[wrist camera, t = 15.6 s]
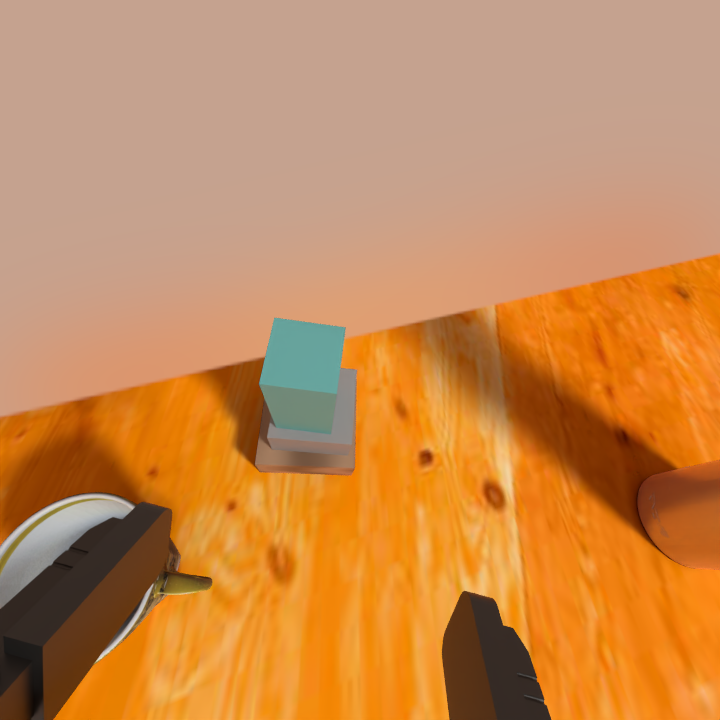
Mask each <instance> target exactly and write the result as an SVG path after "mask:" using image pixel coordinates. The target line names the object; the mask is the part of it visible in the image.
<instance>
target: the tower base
mask: <svg viewBox="0 0 720 720" xmlns="http://www.w3.org/2000/svg"><path fill="white" fill-rule="evenodd" d="M270 418H271V413H270V411H269V408H268V406H267V403H266V401H265V398H264V405H263V412H262V419H261V426H260V432H259V439H258V446H257V453H256V460H255V465H256V467H257V468H258V470H259V471H260V472H271V473H299V474H328V475H352V473H353V471H354V468H355V429H356V389H355V404H354V419H353V434H352V445H351V448H350V451H349V454H348V456H346V455H334V454H322V453H310V452H298V451H285V450H273V449H272V448H271V446H270V443H269V441H268V439H267V435H268V430H269V424H270Z"/></svg>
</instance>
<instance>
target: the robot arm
mask: <svg viewBox="0 0 720 720" xmlns="http://www.w3.org/2000/svg"><path fill="white" fill-rule="evenodd" d="M637 500H638V511H639V516H640V518H641V521H642V524H643V526H644V528H645V530H646V532H647V533H648V535H649V537H650V538H651V539H652V541H653V542H654V543H655V545H656V546H657V547H658V548H659V549H660V550H661V551H662V552H663V553H664V554H665V555H667V556H668V557H669V558H671V559H672V560H674V561H675V562H677V563H679V564H681V565H683V566H686V567H690V568H694V569H713V570H720V460H717V461H712V462H708V463H703V464H699V465H694V466H689V467H685V468H681V469H676V470H672V471H667V472H663V473H658V474H654V475H652V476H650V477H648V478H647V479H646V480H645V481H644V482H643V483H642V485H641V487H640V489H639V492H638V497H637ZM171 520H172V510H171V509H168V508H165V507H161V506H157V505H154V504H150V503H146V502H141V503H139V504H138V505H137V506H136V507H135V508H134V509H133V510H132V511H131V512H130V513H129V514H128V515H126V516H125V517H124V518H123V519H119V518H115V517H112V518H110V519H108V520H106V521H104V522H102V523H100V524H98V525H96V526H94V527H92V528H90V529H89V530H88V531H87V532H85V533H84V534H83V535H82V536H81V537H80V538H79V539H78V540H77V541H75V542H74V543H73V544H72V545H71V546H70V548H69V549H68V550H65V551H64V552H63V553H62V554H61V555H60V556H59V557H58V558H56V559H55V560H54V561H53V564H52V565H51V566H50V565H49V566H48V567H46V568H45V569H44V570H43V571H42V572H41V573H40V574H39V575H38V576H36V577H35V578H34V579H33V580H32V581H31V582H30V583H29V584H28V585H26V586H25V587H24V588H23V589H22V590H21V591H20V592H19V593H18V594H16V595H15V596H14V597H13V598H12V599H11V600H10V601H9V602H8V603H6V604H5V605H4V606H3V607H2V608H1V609H0V720H53V719H54V718H55V716H56V715H57V714H58V712H59V711H60V709H61V708H62V707H63V705H64V704H65V703H66V701H67V700H68V699H69V697H70V696H71V695H72V693H73V692H74V690H75V689H76V688H77V686H78V685H79V684H80V682H81V681H82V680H83V678H84V677H85V675H86V674H87V673H88V671H89V670H90V669H91V667H92V666H93V665H94V663H95V662H96V660H97V659H98V658H99V656H100V655H101V654H102V652H103V651H104V650H105V648H106V647H107V645H108V644H109V643H110V641H111V640H112V639H113V637H114V636H115V635H116V633H117V632H118V630H119V629H120V628H121V626H122V625H123V624H124V622H125V621H126V620H127V618H128V617H129V615H130V614H131V613H132V611H133V610H134V609H135V607H136V606H137V605H138V603H139V602H140V600H141V599H142V598H143V596H144V595H145V594H146V592H147V591H148V590H149V588H150V587H151V585H152V584H153V583H154V581H155V580H156V579H157V577H158V575H159V574H160V572H161V570H162V568H163V566H164V563H165V561H166V558H167V554H168V547H169V538H170V529H171ZM442 659H443V668H444V676H445V685H446V693H447V701H448V710H449V718H450V720H551V717H550V715H549V712H548V709H547V706H546V705H545V704H544V697H543V694H542V691H541V688H540V685H539V683H538V682H537V676H536V673H535V670H534V667H533V664H532V661H531V658H530V655H529V653H528V651H527V649H526V648H525V646H524V644H523V643H522V641H521V640H520V638H519V637H518V635H517V634H516V632H515V630H514V629H513V628H511V627H507V626H503V623H502V620H501V617H500V613H499V610H498V607H497V604H496V602H495V600H494V599H493V598H489V597H485V596H482V595H478V594H475V593H471V592H467V591H464V592H462V594H461V596H460V598H459V600H458V602H457V605H456V607H455V609H454V612H453V614H452V616H451V619H450V621H449V623H448V625H447V628H446V630H445V633H444V638H443V646H442Z"/></svg>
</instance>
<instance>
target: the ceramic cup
mask: <svg viewBox="0 0 720 720" xmlns="http://www.w3.org/2000/svg"><path fill="white" fill-rule="evenodd" d="M136 506H137V504H135V503H133V502H132V501H130V500H128V499H126V498H123V497H121V496H118V495H114V494H110V493H100V492H93V493H83V494H78V495H74V496H70V497H67V498H64V499H61V500H59V501H56V502H54V503H52V504H50V505H48V506H46V507H44V508H43V509H41V510H39V511H38V512H36V513H35V514H33V515H32V516H30V517H29V518H28V519H27V520H25V521H24V522H23V523H22V524H20V525H19V526H18V527H17V528H16V529H15V530H14V531H13V532H12V533H11V534H10V535H9V536H8V537H7V539H6V540H5V541H4V542H3V543H2V545H1V546H0V609H1V608H2V607H3V606H4V605H5V604H6V603H8V602H9V601H10V600H11V599H12V598H13V597H14V596H15V595H16V594H18V593H19V592H20V591H21V590H22V589H23V588H24V587H25V586H26V585H28V584H29V583H30V582H31V581H32V580H33V579H34V578H35V577H36V576H38V575H39V574H40V573H41V572H42V571H43V570H44V569H45V568H46V567H48V566H49V565H50V566H51V565H52V564H53V561H54V560H55V559H56V558H58V557H59V556H60V555H61V554H62V553H63V552H64V551H65V550H68V549H69V548H70V546H71V545H72V544H73V543H74V542H75V541H77V540H78V539H79V538H80V537H81V536H82V535H83V534H84V533H85V532H87V531H88V530H89V529H90V528H92V527H94V526H96V525H98V524H100V523H102V522H104V521H106V520H108V519H110V518H112V517H115V518H119V519H123V518H124V517H125V516H126V515H128V514H129V513H130V512H131V511H132V510H133V509H134V508H135V507H136ZM180 558H181V556H180V554H179V552H178V550H177V549H176V547H175V545H174V544H173V542H172V540H171V539H170V538H169V547H168V554H167V558H166V561H165V563H164V566H163V568H162V570H161V572H160V574H159V575H158V577H157V579H156V580H155V581H154V583H153V584H152V585H151V587H150V588H149V590H148V591H147V592H146V594H145V595H144V596H143V598H142V599H141V600H140V602H139V603H138V605H137V606H136V607H135V609H134V610H133V611H132V613H131V614H130V615H129V617H128V618H127V620H126V621H125V622H124V624H123V625H122V626H121V628H120V629H119V630H118V632H117V633H116V635H115V636H114V637H113V639H112V640H111V641H110V643H109V644H108V645H107V647H106V648H105V650H104V651H103V652H102V654H101V655H100V656H99V658H98V659H97V660H96V662H95V663H97V662H98V661H100V660H101V659H102V658H104V657H105V656H106V655H107V654H109V653H110V652H111V651H112V650H113V649H114V648H116V647H117V646H118V645H119V644H120V643H121V642H122V641H124V640H125V639H126V638H127V637H128V636H129V635H130V634H131V633H132V632H133V631H134V630H135V629H136V627H137V626H138V625H139V624H140V623H141V622H142V621H143V620H144V619H145V617H146V616H147V615H148V614H149V613H150V612H151V611H152V609H153V608H154V607H155V606H156V605H157V604H158V603H159V602H161V601H162V600H163V599H164V598H165V597H166V596H167V595H181V594H190V593H196V592H201V591H205V590H208V589H210V587H211V586H212V579H211V578H209V577H203V576H196V575H189V574H184V573H179V572H177V570H178V566H179V563H180ZM95 663H94V664H95Z"/></svg>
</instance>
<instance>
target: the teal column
mask: <svg viewBox="0 0 720 720" xmlns="http://www.w3.org/2000/svg"><path fill="white" fill-rule="evenodd" d="M344 336H345V327H338V326H330V325H323V324H316V323H309V322H302V321H294V320H287V319H280V318H274V322H273V326H272V330H271V335H270V339H269V343H268V347H267V352H266V356H265V360H264V365H263V369H262V373H261V377H260V382H259V385H260V388H261V390H262V393H263V396H264V398H265V401H266V403H267V406H268V408H269V411H270V413H271V416H272V418H273V421H274V424H275V426H276V428H283V429H291V430H299V431H307V432H316V433H324V434H331V431H332V424H333V417H334V410H335V403H336V396H337V389H338V381H339V374H340V366H341V358H342V351H343V343H344Z"/></svg>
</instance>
